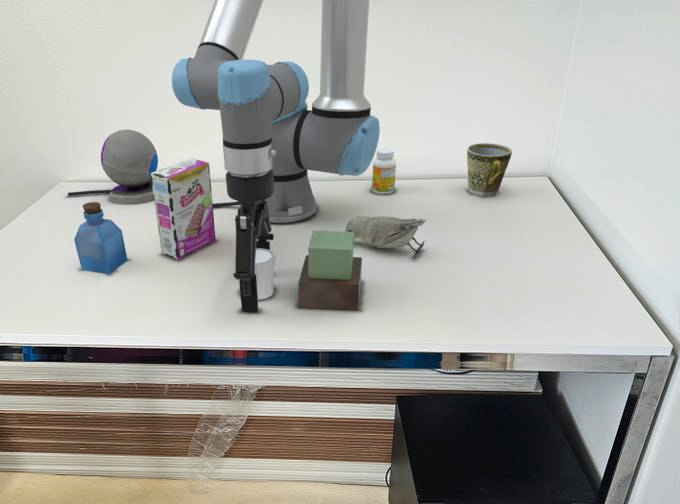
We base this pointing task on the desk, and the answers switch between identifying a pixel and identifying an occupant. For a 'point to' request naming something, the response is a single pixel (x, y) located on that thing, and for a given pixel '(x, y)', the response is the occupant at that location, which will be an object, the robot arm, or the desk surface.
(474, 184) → the ceramic cup
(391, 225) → the decorative bird
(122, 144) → the grey ball on base
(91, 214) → the perfume bottle
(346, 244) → the green block
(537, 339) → the desk surface
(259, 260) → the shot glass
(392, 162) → the supplement bottle
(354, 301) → the walnut block
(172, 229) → the candy bar box
